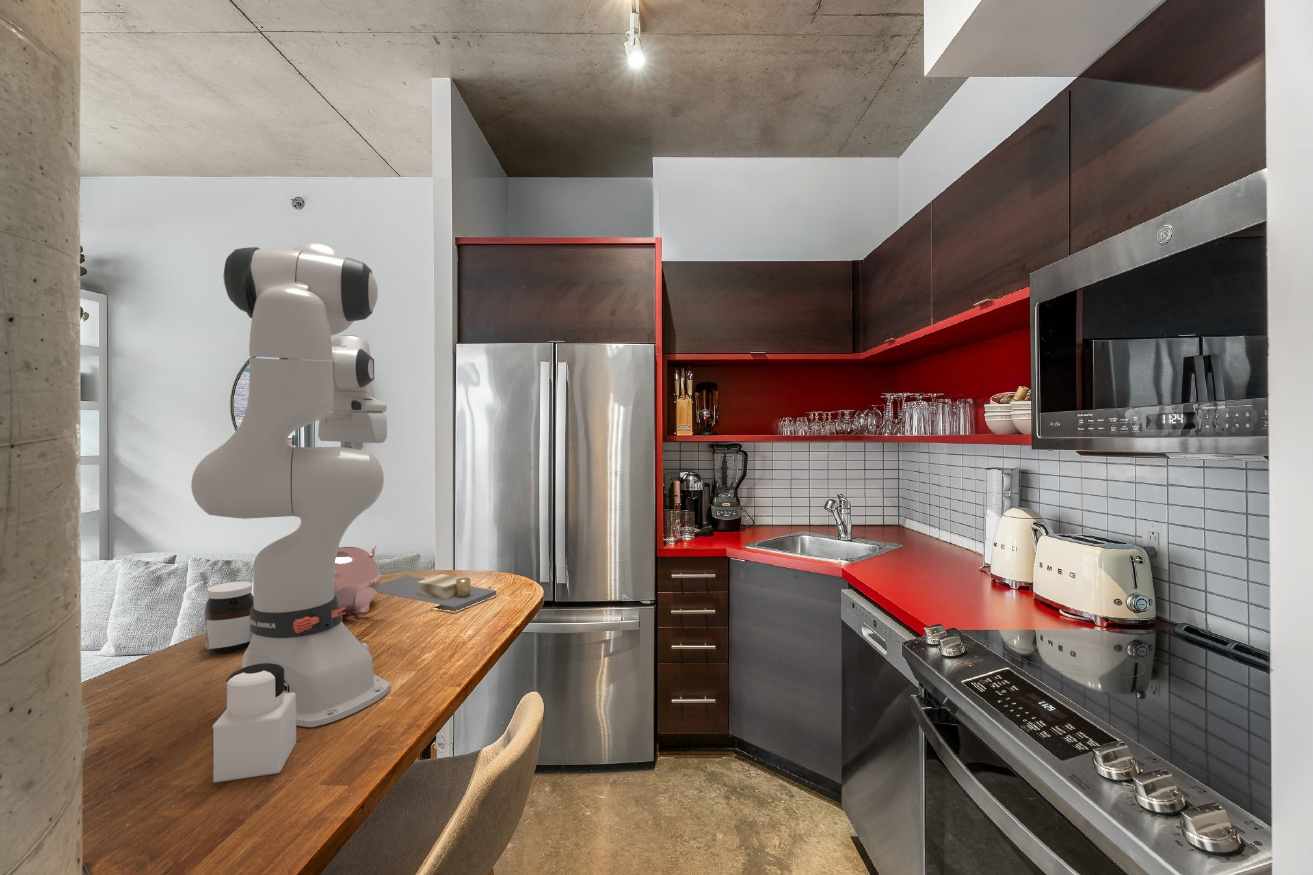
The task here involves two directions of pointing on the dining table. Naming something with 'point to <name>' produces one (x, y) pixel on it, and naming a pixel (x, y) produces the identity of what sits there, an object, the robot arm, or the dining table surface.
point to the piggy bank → (355, 580)
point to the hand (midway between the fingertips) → (351, 460)
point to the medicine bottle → (254, 724)
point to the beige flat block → (438, 586)
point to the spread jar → (228, 617)
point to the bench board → (409, 590)
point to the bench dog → (463, 587)
